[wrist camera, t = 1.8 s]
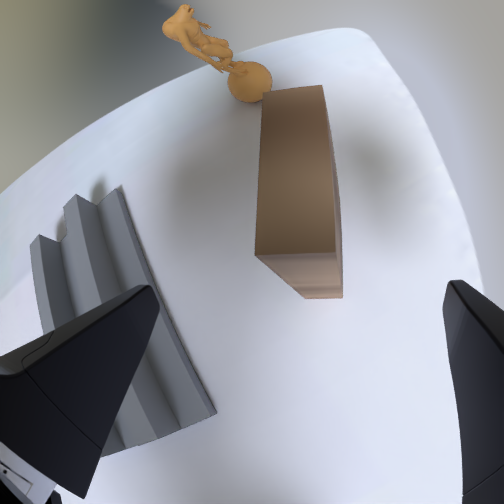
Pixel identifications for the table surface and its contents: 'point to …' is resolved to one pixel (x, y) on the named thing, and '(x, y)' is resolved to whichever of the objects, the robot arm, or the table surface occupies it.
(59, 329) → the robot arm
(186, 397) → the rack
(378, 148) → the table surface
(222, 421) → the table surface
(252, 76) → the figurine
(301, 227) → the plaque
